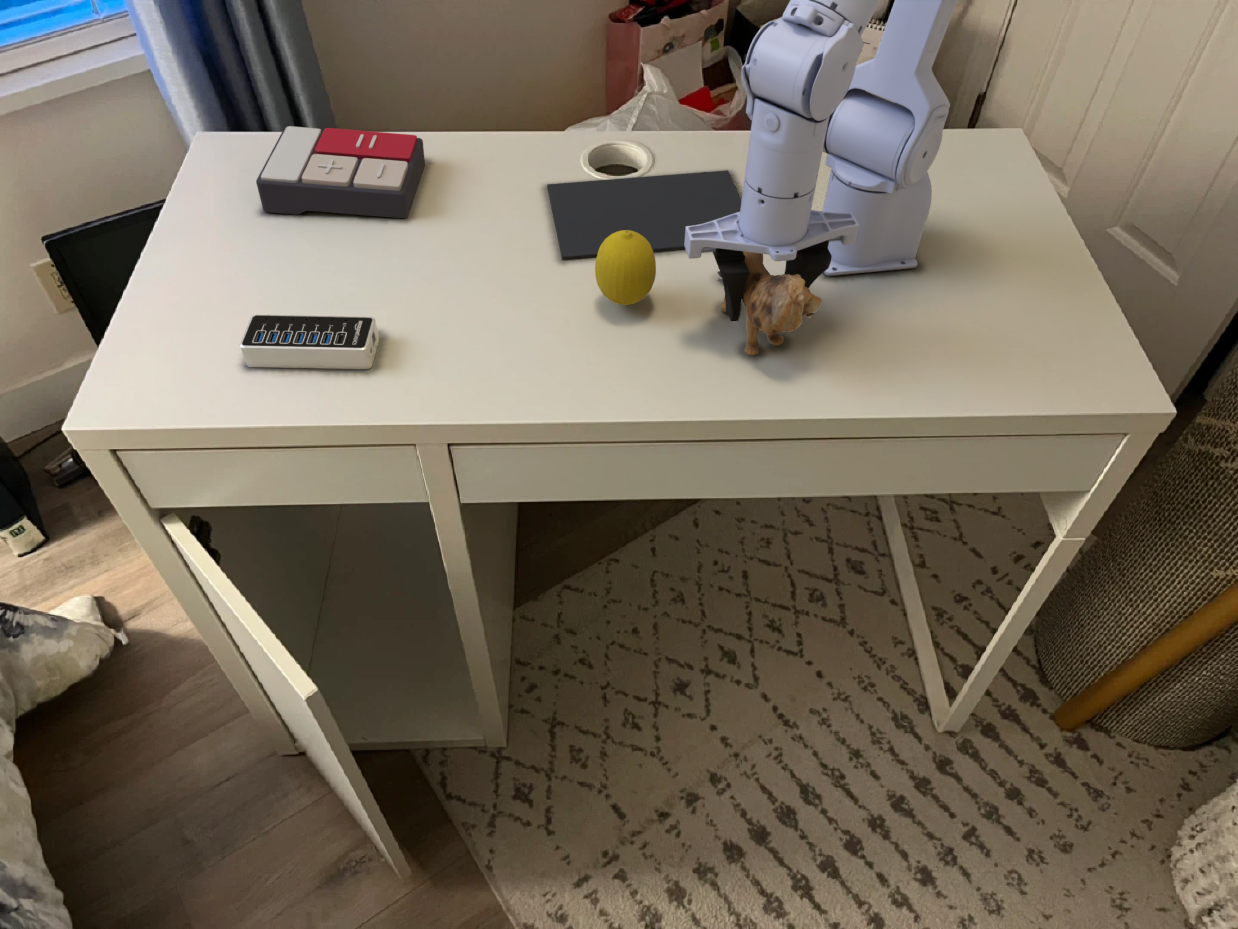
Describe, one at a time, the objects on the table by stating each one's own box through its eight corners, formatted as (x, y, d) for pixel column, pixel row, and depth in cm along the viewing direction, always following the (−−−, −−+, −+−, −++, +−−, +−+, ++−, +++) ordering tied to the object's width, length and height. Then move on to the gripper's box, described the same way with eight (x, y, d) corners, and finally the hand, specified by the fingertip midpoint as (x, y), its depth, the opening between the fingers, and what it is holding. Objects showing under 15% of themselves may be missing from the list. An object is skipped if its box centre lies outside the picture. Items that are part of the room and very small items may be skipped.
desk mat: (727, 173, 104) (728, 169, 103) (758, 242, 95) (758, 239, 95) (547, 187, 101) (547, 183, 101) (562, 260, 93) (562, 256, 93)
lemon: (648, 326, 86) (651, 254, 80) (589, 317, 87) (588, 245, 81) (658, 289, 90) (662, 217, 84) (602, 281, 91) (602, 210, 85)
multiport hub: (258, 333, 85) (251, 313, 83) (380, 335, 85) (375, 316, 83) (245, 366, 82) (237, 347, 80) (371, 369, 82) (366, 349, 80)
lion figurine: (818, 365, 83) (833, 284, 76) (764, 383, 82) (775, 302, 75) (741, 270, 92) (748, 190, 85) (691, 284, 91) (695, 204, 84)
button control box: (403, 187, 94) (252, 175, 94) (407, 224, 97) (262, 212, 97) (422, 130, 101) (283, 119, 101) (426, 166, 105) (290, 155, 104)
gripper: (703, 214, 72) (690, 348, 82) (884, 199, 73) (849, 332, 84) (683, 165, 76) (673, 297, 86) (854, 152, 78) (825, 283, 88)
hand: (758, 311), depth 85 cm, fingers closed on lion figurine, 4 cm apart
